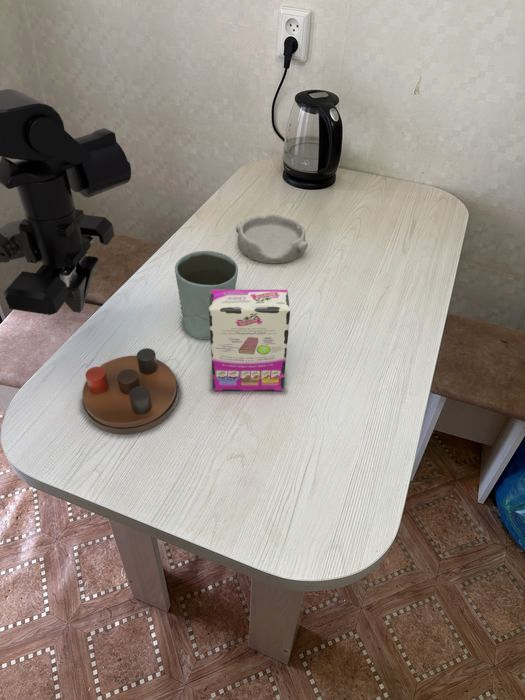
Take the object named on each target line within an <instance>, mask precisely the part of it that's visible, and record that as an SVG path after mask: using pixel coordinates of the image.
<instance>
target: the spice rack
mask: <svg viewBox="0 0 525 700" xmlns="http://www.w3.org/2000/svg"><path fill="white" fill-rule="evenodd" d="M84 374H85V375H84V376H85V379H86V381H85V383H84V385H83V387H82V403H83V402H84V405H85V407H86V410H87V411H88V413H89V414H90V415H91V416H92V417H93V418H94V419H95V420H97V421H99V422H100V423H103V424H105V425H108V426H112V427H122V428H125V427H135V426H139V425H143V424H146V423H148V422H151V421H153V420H155V419H156V418H158V417H159V416H161V415H162V414H163V413H164V412H165V411H166V410H167V409H168V408H169V407H170V405H171V404H172V402H173V400H174V398H175V395H176V381H177V379H176V377H175V374H174V373H173V370H172V369H171V368H170V367H169V366H168V365H167V364H166V363H164V362H162V361H161V360H159V359H157V355H156V352H155V350H154V349H152V348H150V347H149V348H147V347H145V348H142V349H139V351H137V353H136V355H125V356H120V357H117V358H114V359H111V360H108V361H107V362H105V363H103V364H102V365H100V366H92V367H90V368H88V369H87V370H86V372H85V373H84ZM175 379H176V380H175Z"/></svg>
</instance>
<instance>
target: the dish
mask: <svg viewBox="0 0 525 700" xmlns="http://www.w3.org/2000/svg"><path fill="white" fill-rule="evenodd" d="M235 232H236V233H237V242H238V247H239V250H240V251H241V253H242V254H243V255H244V256H245V257H247V258H249V259H251V260H253V261H255V262H260V263H264V264H284V263H289V262H293V261H294V260H297V258H299V257H300V256H301V255H302V254H304V253H305V251H306V250H307V248H308V244H309V242H308V241H306V230H305V227H304V226H303V225H302V224H301V223H300V222H299V221H297V220H296V219H293V218H290V217H287V216H283V215H281V214H280V215H279V214H274V213H269V214H267V215H263V216H261V215H255V216H252V217H249V218H248V219H245V220H244V221H243V222H238V224H237V225H236V227H235Z"/></svg>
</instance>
